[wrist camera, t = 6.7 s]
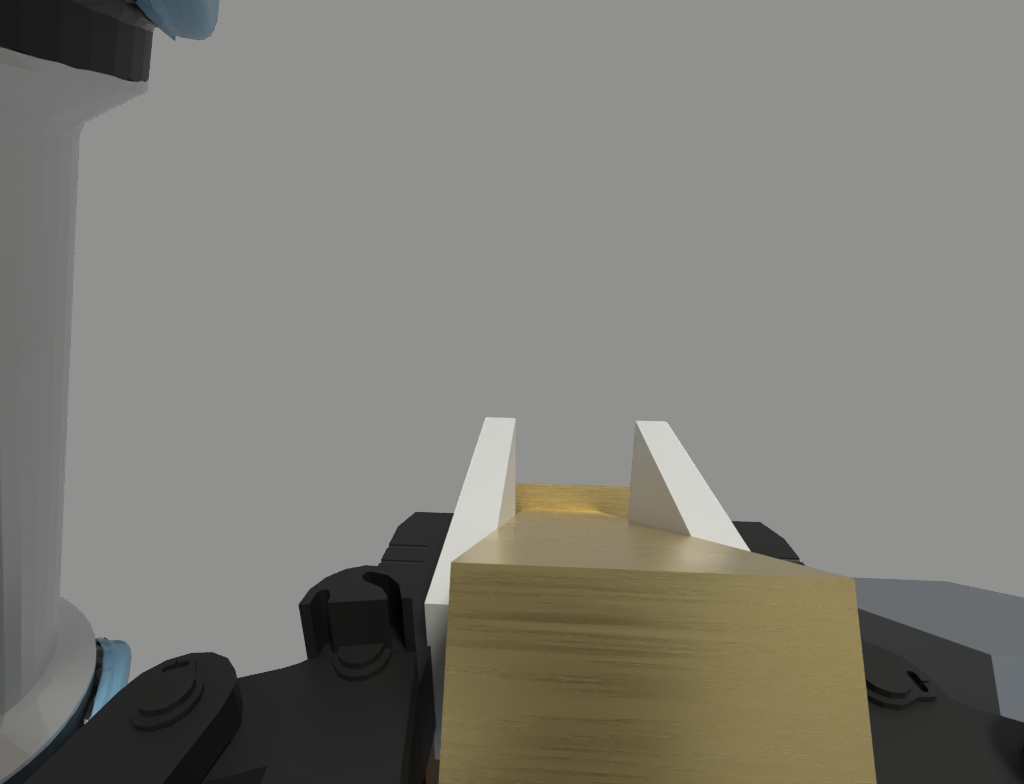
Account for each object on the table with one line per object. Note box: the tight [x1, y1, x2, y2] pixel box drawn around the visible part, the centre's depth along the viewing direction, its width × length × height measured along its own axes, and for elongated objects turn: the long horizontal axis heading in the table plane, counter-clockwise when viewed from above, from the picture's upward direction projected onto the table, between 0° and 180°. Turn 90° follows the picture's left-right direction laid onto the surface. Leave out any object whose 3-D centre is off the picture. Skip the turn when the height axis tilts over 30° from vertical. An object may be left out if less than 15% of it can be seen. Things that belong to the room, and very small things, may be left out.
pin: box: [439, 483, 877, 784], centre depth 14 cm, size 22×6×4 cm, turn 176°
